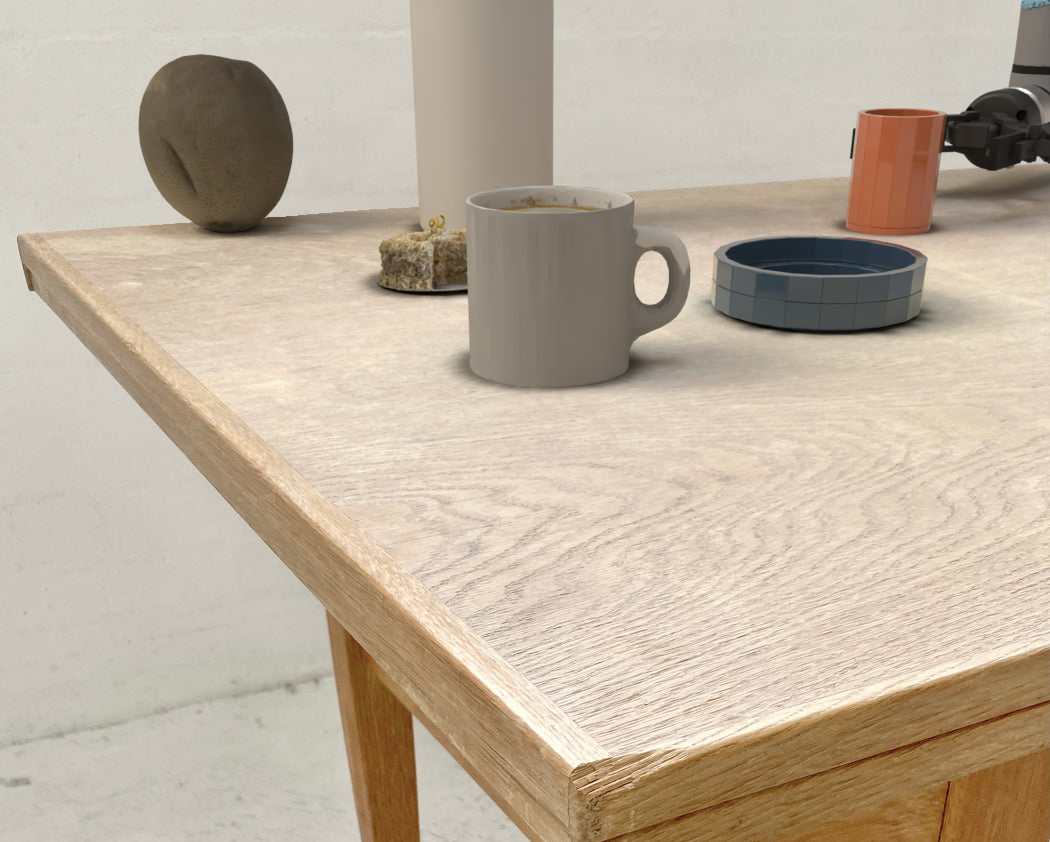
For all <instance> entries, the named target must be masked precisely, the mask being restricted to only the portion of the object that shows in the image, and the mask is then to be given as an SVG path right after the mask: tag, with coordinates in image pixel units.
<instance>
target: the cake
mask: <svg viewBox="0 0 1050 842" xmlns="http://www.w3.org/2000/svg"><path fill="white" fill-rule="evenodd" d="M439 216H440V217H441V218H442V220H443V221H442V224H439V220H438V218H439ZM439 216H437V217H436V218H434V219H431V220H429V223H428V224H429V227H431V230H430V231H424V230H422V231H414V232H406V233H397V234H396V235H391V237H390V238H389V239H388V240H384V239H383V240H382V241H381V243H380V245H379V246H378V253H380V260H381V264H380V266H381V268H382V269H381V270H380V271H379V276H378V279H377V280H376V284H377V285H378V286H379V287H384V288H388V289H392V290H393V289H394V290H396V291H405V292H434V293H447V292H459V291H468V287H465V288H449V289H435V286H436V287H437V286H446V285H448V284H460V285H461V284H463V285H464V284H465V285H466V284H467V285H468V277H467V243H466V229H462V230H454V229H452V230H446V225H445V223H446V221H445V217H444V216H443V215H439ZM431 222H433V224H432V225H431Z"/></svg>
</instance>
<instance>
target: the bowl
mask: <svg viewBox="0 0 1050 842" xmlns="http://www.w3.org/2000/svg"><path fill="white" fill-rule="evenodd" d="M928 260H929V259H928V257H927V256H926V255H925V254H923V253H922V252H921V251H919V250H917V249H914V248H911V247H908V246H906V245H902V244H897V243H893V242H888V241H882V240H878V239H877V240H876V239H870V238H861V237H852V236H835V235H834V236H833V235H816V234H814V235H812V234H810V235H808V234H806V235H805V234H803V235H774V236H762V237H754V238H748V239H742V240H741V239H740V240H735V241H731V242H729V243H726V244H724V245H721V246H719V247H718V248H717V249H716V250H715V251H714V252H713V261H712V274H711V275H712V278H711V293H710V302H711V304H712V306H713V308H714V310H715V309H716V310H717V311H719V312H721V313H722V314H725V315H727V316H728V317H731V318H735V319H739V320H742V321H744V322H747V323H751V324H755V325H760V326H764V327H769V328H776V329H782V330H791V331H802V332H853V331H865V330H873V329H879V328H883V327H888V326H891V325H896V324H900V323H904V322H907V321H909V320H911V319H913V318H914V317H917V316H918V315H920V312H921V309H922V301H923V295H924V287H925V282H926V274H927V267H928Z"/></svg>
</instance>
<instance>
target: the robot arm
mask: <svg viewBox="0 0 1050 842" xmlns="http://www.w3.org/2000/svg"><path fill="white" fill-rule="evenodd" d="M1013 56H1014V57H1013V62H1012V67H1011V71H1010V75H1009V80H1008V81H1009V82H1008V87H1003V88H1001V89H995V90H991V91H988V92H985V93H983V94H981V95H979V96H978V97H976V98H975V99H974V100H973V101H972V102H971V103H970V104H969V105H968V106H967V107H966V109H965V110H963V111H961V112H959V113H954V114H953V113H951V114H950V113H947V117H946V124H945V131H944V139H943V146H942V153H957V154H961V155H963V156H964V157H965V158H966V160H967V161H968V162H969V163H970V164H972V165H973V166H975V167H977V168H980V169H981V170H982V169H983V170H986V171H989V172H997V171H999V170H1003V169H1007V170H1010V169H1013V168H1015V166H1016V165H1018V164H1021V162H1026V163H1027V164H1032V163H1035V162H1037V158H1040V159H1041V160H1042V161H1043V162H1044V163H1047V164H1049V165H1050V0H1021V1H1020V10H1019V18H1018V26H1017V35H1016V42H1015V49H1014V55H1013ZM855 131H856V127H853V128H852V133H851V134H852V135H851V145H850V154H849V160H852V158H853V149H854V140H855ZM946 143H948V145H947V144H946ZM949 144H950V145H949Z"/></svg>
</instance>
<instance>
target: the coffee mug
mask: <svg viewBox="0 0 1050 842" xmlns="http://www.w3.org/2000/svg"><path fill="white" fill-rule="evenodd" d="M634 219H635V198H634V197H633V196H632V195H630V194H628V193H626V192H623V191H619V190H613V189H608V188H601V187H592V186H576V185H553V186H525V187H512V188H502V189H495V190H488V191H483V192H479V193H476V194H474V195H471V196H469V197H468V198H467V199H466V243H467V277H468V284H467V288H468V289H467V307H468V309H467V310H468V311H467V312H468V345H469V369H470V371H471V372H473V373H474V374H475V375H477V376H479V378H480V377H481V378H483V379H485V380H489V381H490V382H491V381H492V382H495V383H498V384H499V383H500V384H503V385H510V386H516V387H517V386H518V387H529V388H568V387H580V386H588V385H593V384H597V383H602V382H606V381H610V380H613V379H616V378H617V377H618V378H619V377H620V376H621V375H623V374H624V373H626V372H627V371H628V368H629V366H630V362H629V361H630V351H631V348H632V346H633V344H634V342H636V341H637V340H638V339H639V338H641V337H642V336H644V335H647V334H649V333H651V332H654V331H656V330H658V329H661V328H663V327H664V326H666V325H668V324H670V323H671V322H672V321H674V320H675V319H676V318H677V317H678V316H679V314H680V313H681V312H682V310H683V308H684V307H685V305H686V302H687V299H688V296H689V292H690V286H691V263H690V261H691V260H690V257H689V254H688V253H689V252H688V250H687V247H686V246H685V243H684V242H683V241H682V239H681V238H680V237H679V236H678V235H677V234H676V233H674V232H672V231H671V230H669V229H666V228H662V227H657V226H648V225H647V226H645V225H638V224H635V223H634ZM647 252H656V253H658V254H660V256H662V258H663V259H664V260H665V262H666V266H667V269H668V284H667V289H666V292H665V294H664V296H663V298H661V299H660V300H659V301H658V302H656V303H652V304H647V303H644V302H642V300H640V298H639V297H638V296H637V293H636V286H635V276H636V270H637V269H636V268H637V265H638V262H639V260H640V259H641V257H642V256H643V255H645V253H647Z"/></svg>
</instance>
